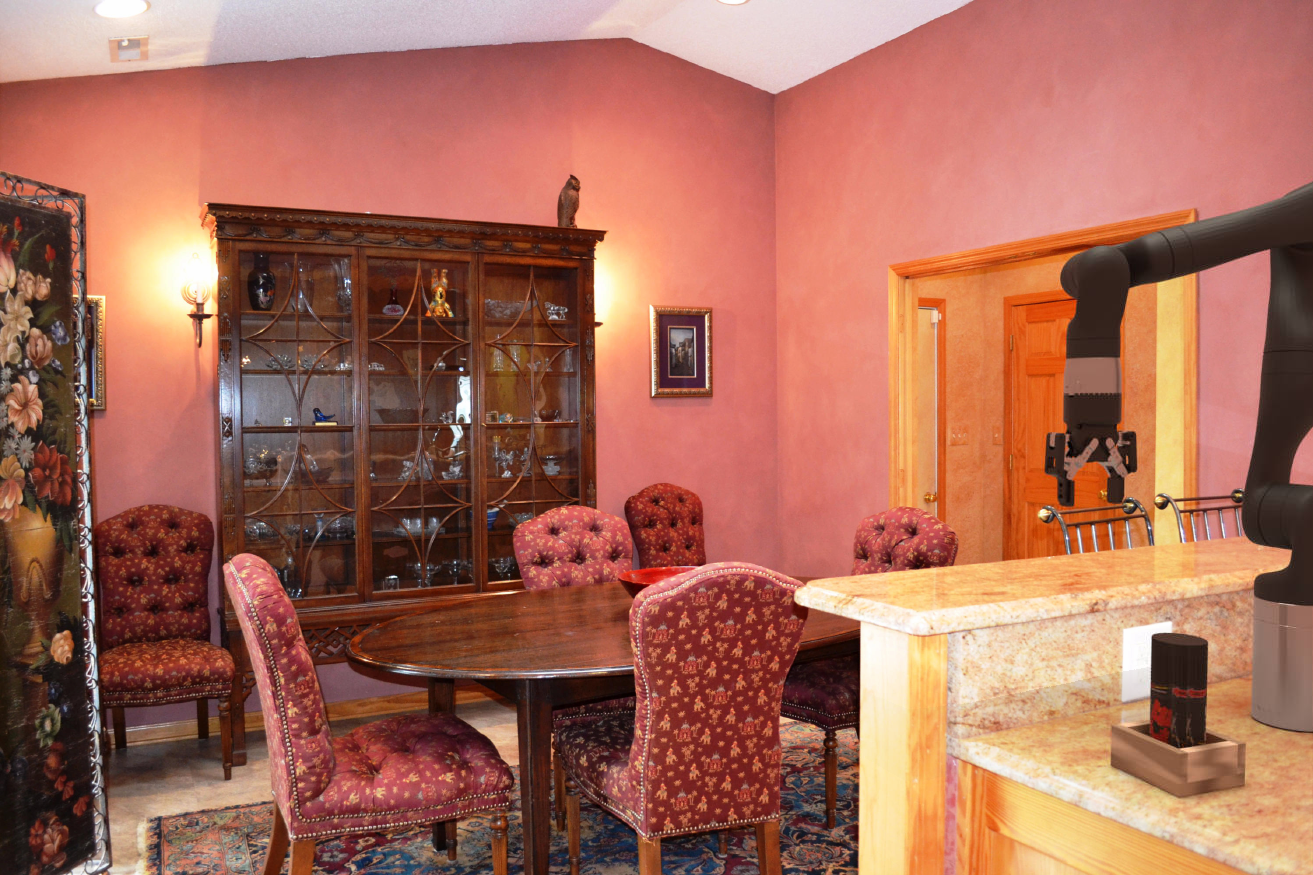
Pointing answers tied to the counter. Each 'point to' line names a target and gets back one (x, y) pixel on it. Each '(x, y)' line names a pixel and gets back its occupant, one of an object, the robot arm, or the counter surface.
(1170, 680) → the deodorant
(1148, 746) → the wooden box
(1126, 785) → the counter surface
